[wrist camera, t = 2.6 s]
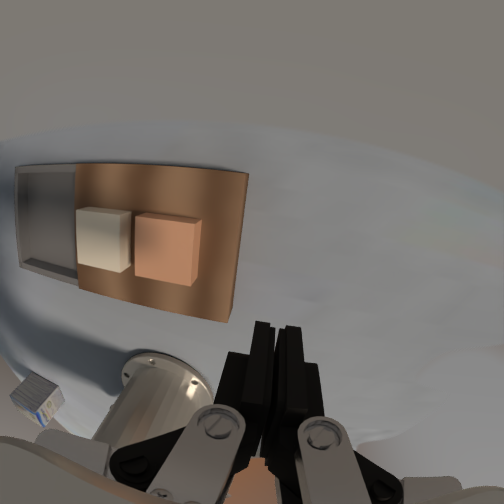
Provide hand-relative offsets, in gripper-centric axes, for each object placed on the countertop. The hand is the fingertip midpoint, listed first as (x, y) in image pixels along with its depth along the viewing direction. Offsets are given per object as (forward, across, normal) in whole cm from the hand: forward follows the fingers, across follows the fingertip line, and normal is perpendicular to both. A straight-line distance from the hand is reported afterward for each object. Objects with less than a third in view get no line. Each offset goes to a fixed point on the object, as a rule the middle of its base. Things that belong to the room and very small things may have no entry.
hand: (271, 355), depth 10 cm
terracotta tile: (+13, +9, +1) cm, 15 cm away
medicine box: (+15, +37, +34) cm, 53 cm away
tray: (+16, +26, +1) cm, 30 cm away
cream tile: (+13, +15, +1) cm, 20 cm away
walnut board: (+16, +12, +1) cm, 20 cm away
